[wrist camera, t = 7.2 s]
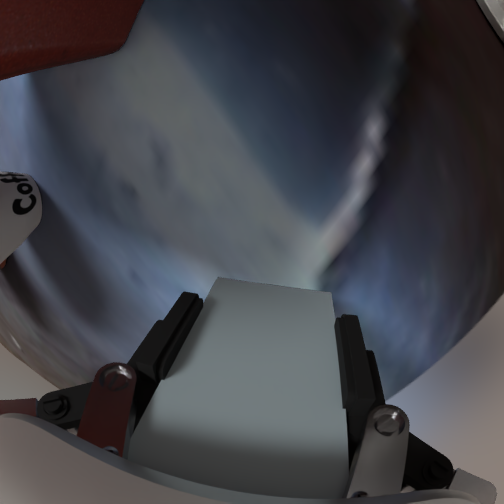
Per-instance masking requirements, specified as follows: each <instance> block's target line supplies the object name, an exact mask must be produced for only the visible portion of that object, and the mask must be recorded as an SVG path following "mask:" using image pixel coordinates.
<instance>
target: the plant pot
mask: <svg viewBox="0 0 504 504" xmlns="http://www.w3.org/2000/svg"><path fill="white" fill-rule="evenodd" d="M143 2H144V0H0V81H1V80H4V79H7V78H11V77H15V76H18V75H22V74H26V73H30V72H34V71H38V70H43V69H47V68H51V67H56V66H60V65H65V64H69V63H74V62H79V61H83V60H88V59H93V58H97V57H101V56H105V55H108V54H112V53H114V52H116V51H118V50H119V49H120V48H121V47H122V45H123V44H124V43H125V41H126V39H127V37H128V34H129V32H130V30H131V27H132V25H133V23H134V21H135V19H136V16H137V14H138V12H139V10H140V8H141V6H142V4H143Z"/></svg>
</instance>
